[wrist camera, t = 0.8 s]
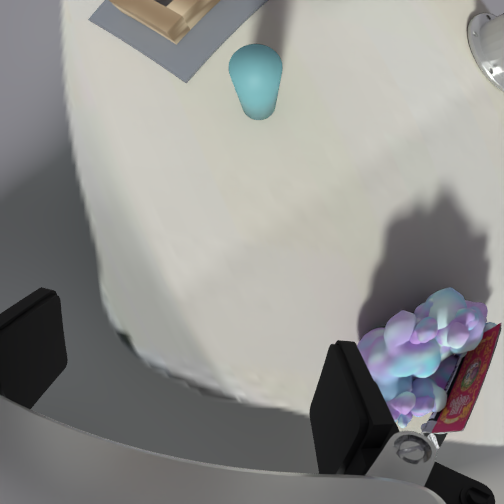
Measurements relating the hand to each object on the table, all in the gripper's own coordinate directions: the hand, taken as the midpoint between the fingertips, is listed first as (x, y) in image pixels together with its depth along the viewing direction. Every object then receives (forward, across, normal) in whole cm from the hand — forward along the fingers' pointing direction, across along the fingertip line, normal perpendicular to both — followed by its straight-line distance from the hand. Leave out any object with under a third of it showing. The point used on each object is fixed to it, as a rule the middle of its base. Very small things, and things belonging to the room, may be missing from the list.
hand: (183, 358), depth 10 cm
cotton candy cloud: (+27, -27, +12) cm, 40 cm away
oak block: (+27, +12, -26) cm, 39 cm away
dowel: (+27, 0, -13) cm, 30 cm away
